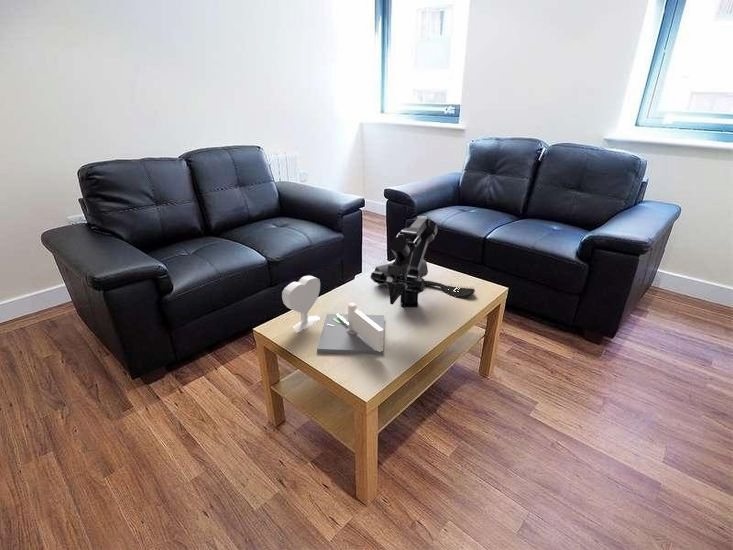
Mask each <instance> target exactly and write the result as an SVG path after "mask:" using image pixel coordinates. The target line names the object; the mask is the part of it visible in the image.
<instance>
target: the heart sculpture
mask: <svg viewBox="0 0 733 550" xmlns="http://www.w3.org/2000/svg"><path fill="white" fill-rule="evenodd" d="M320 291H321V281H320V278H317V277H315V276H313V275H304V276H302V277H301V278H300V279H299V280H298V281H292V282H290V283H289V284H288V285H286V286H285V287H284V289H283V290H282V292H281V299H282V303H283V304H284V305H285V307H286V308H288V309H290V310H291V311H292V310H293V311H294V312H298V313H300V320H301V322H300V321H299V322H297V323H298V324H297V323H296V325H295V324H294V325H295V326H294V325H292V326H293V328H294V329H295V330H296V331H301V330H303V329H304V330H306V329H308V328H309V327H311V326H312V325H314V324H315V323H317V322H319V321H320V320H321V317H320V316H318V315H315V316H310V315H309V316H308V314H309V312H310V310H311V309H312V307H313V306H314V304H315V303H316V301H317V300H318V298H319V294H320ZM318 320H319V321H318ZM313 323H314V324H313ZM308 326H309V327H308ZM305 328H306V329H305ZM304 330H303V331H304ZM301 332H302V331H301Z"/></svg>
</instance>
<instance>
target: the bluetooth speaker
mask: <svg viewBox="0 0 733 550" xmlns="http://www.w3.org/2000/svg"><path fill="white" fill-rule="evenodd" d="M388 265H393V262H390V263H386V264H382V265H379V266H376V267H375V268H374V271H376V272H382V273H383V274H384V275H385V276H388V277H390V276H389V274H387V268H388ZM428 270H429V269H428V264H427V261H426V260H425V259H424V258H423V260H422V263H421V266H420V269H419V275H420V279H421V278H424V277H426V276H427V275H428V273H429V271H428ZM394 281H396V280H394ZM396 284H397V283H395V286H396ZM377 285H379V286H387V285H386V284H385V283H383V284H380V283H377Z"/></svg>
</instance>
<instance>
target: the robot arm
mask: <svg viewBox="0 0 733 550" xmlns="http://www.w3.org/2000/svg"><path fill="white" fill-rule="evenodd" d="M437 233H438V224H437V222H435V221H433V220H432V219H431V217H430V216H426V215H417V217H416V220H414V222H413V223H412V224H411V225H410V226H409V227H404V228H403V229H401V230H400V232H398V233H397V235H396V236H395V237H394V238H393V239H391V240H390V242H389V247H390V250H391V251H392V253H393V255H394V256H395V259H394V261H393V262H392V263H393V265H388V268H387V274H389V276H390V277H388V276H385V275H384V274H383V273H382V272H376V271H375V270H374V271H372V272H371V274H370V279H371V280H372V281H373V282H374V283H376V284H378V283H380V284H383V283H385V284H386V285H385V286H387V288H388V290H389V304H390V305H394V304H395V303H396V301H397V300H398V299H400V304H401V307H402V308H403V307H404V308H407V307H408V308H409V307H410V308H411V307H412V308H418V307H419V301H418V299H419V294H420V293H422V292H424V290H425V286H426V285H424V283H423V281H424V280H423V279H421V278H420V275H419V269H420V266H421V263H422V260H423V259H424V257H425V254H426V250H427V249H428V248H427V247H428V245H429V244H430V243H431V242H432V241H434V240H435V236H437ZM411 247H412V248H413V249H412V248H411ZM394 280H396V281H394ZM395 283H397V284H396V285H395ZM399 297H400V298H399Z"/></svg>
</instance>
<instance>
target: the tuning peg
mask: <svg viewBox="0 0 733 550" xmlns="http://www.w3.org/2000/svg"><path fill="white" fill-rule="evenodd" d="M357 305H358V304H357V303H355V302H349V303H348V304H347V314H348V322H347V321H345V320H344V319H343V318H342V317H341V316H340V315H338V314H339V313H336V314H337V315H336V316H337V317H338V318H339V319H340V320H342V321H343V322H344V323H345V324H346V325H347V326H349V331H351V332H354V331H355V332H357V333H358V334H359V335H360V336H361V337H362V338H363V339H365V340H366V341H367V342H368V343H369V344H370V345H372V346H373V347H374V348H375V349H376V350H377V351H379V352H381V351H383V352H384V346H383V336H384V335H385V329H384V330H383V329H382V328H381V327H380V326H378V325H377V324H376V323H374V322H373V321H372V320H371V319H369V318H368V317H367V316H365V315H366V314H364V313H363V312H362V311H361V310H359V309H358V307H357Z"/></svg>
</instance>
